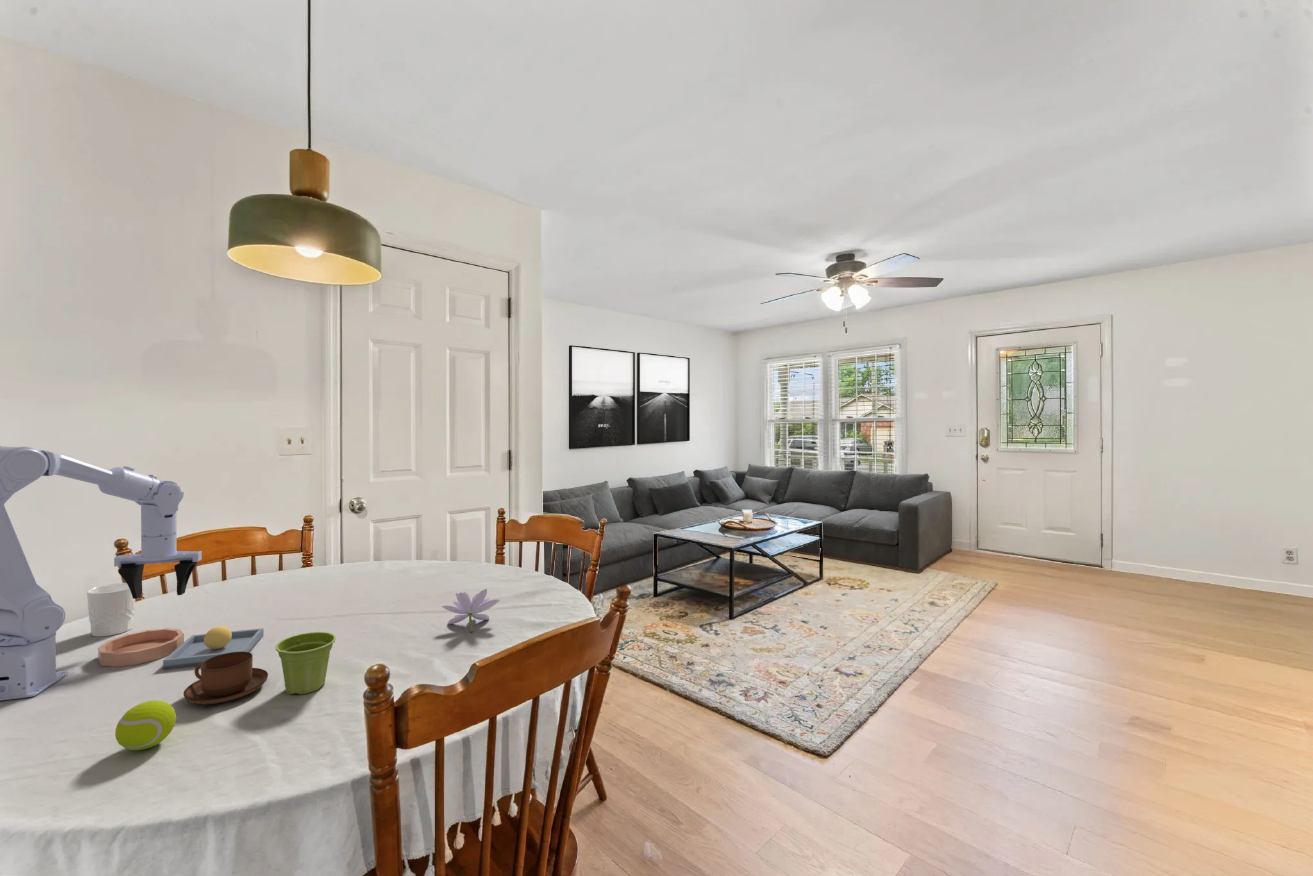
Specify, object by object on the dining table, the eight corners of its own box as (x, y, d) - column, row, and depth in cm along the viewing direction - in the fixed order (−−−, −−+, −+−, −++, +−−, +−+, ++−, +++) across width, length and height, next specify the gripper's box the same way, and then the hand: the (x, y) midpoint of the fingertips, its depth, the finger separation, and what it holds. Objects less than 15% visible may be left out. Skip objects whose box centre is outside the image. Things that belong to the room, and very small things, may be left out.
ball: (226, 651, 113) (228, 630, 113) (199, 653, 111) (201, 631, 111) (234, 643, 117) (235, 622, 117) (208, 645, 115) (209, 623, 115)
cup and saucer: (167, 715, 90) (167, 679, 90) (205, 681, 102) (205, 649, 101) (251, 706, 93) (251, 671, 93) (278, 674, 105) (278, 643, 105)
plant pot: (324, 670, 107) (324, 627, 106) (343, 686, 101) (343, 640, 100) (268, 688, 99) (268, 641, 99) (285, 706, 93) (285, 657, 93)
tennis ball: (110, 766, 77) (110, 720, 76) (120, 742, 82) (120, 699, 82) (173, 750, 81) (172, 706, 80) (178, 728, 86) (178, 687, 86)
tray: (243, 660, 110) (243, 651, 110) (163, 669, 105) (163, 660, 105) (263, 635, 122) (263, 628, 122) (192, 643, 117) (192, 635, 117)
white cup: (105, 639, 118) (104, 594, 118) (77, 635, 120) (77, 591, 119) (145, 626, 126) (145, 584, 126) (119, 623, 128) (119, 581, 127)
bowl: (165, 661, 109) (165, 648, 109) (84, 670, 104) (83, 657, 104) (193, 637, 121) (193, 625, 120) (120, 644, 116) (120, 632, 116)
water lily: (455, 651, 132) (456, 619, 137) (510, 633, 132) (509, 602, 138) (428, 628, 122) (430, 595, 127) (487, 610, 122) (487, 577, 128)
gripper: (207, 529, 124) (207, 587, 125) (126, 532, 119) (127, 592, 120) (193, 535, 118) (194, 596, 118) (108, 539, 113) (108, 603, 113)
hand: (159, 595), depth 119 cm, fingers open, 7 cm apart
